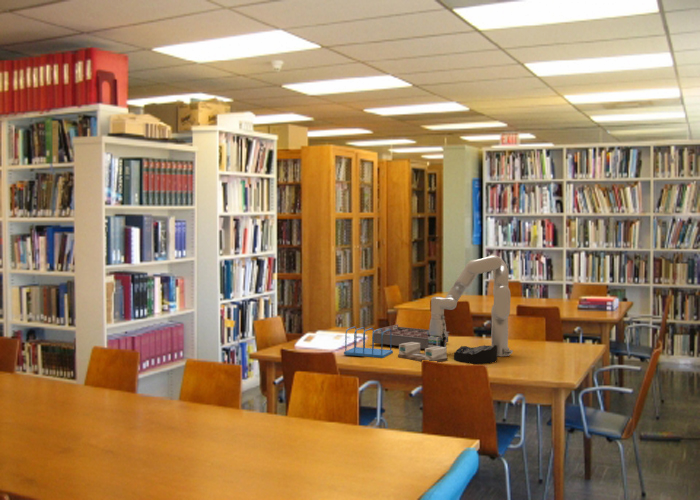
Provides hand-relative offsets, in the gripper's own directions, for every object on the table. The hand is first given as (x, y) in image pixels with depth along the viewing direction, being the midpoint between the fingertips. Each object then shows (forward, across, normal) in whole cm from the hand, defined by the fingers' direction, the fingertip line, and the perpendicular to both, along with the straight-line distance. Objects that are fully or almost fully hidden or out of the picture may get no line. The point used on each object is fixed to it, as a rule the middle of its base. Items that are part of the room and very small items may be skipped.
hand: (437, 346), depth 429 cm
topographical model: (+5, -26, -3) cm, 27 cm away
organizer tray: (+5, +33, -13) cm, 36 cm away
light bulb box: (+5, 0, 0) cm, 5 cm away
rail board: (+5, -4, +18) cm, 19 cm away
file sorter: (+5, +28, +31) cm, 42 cm away
